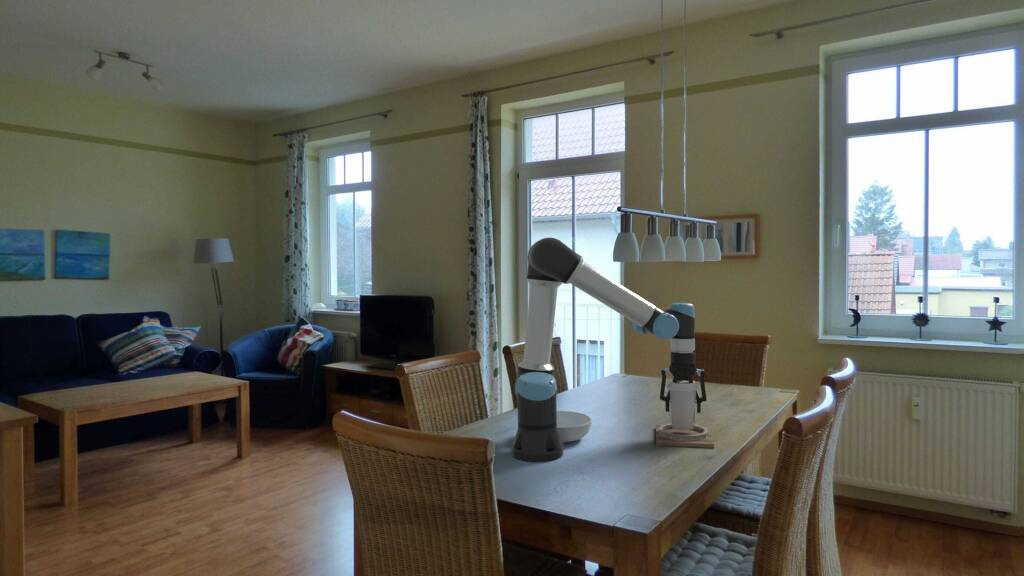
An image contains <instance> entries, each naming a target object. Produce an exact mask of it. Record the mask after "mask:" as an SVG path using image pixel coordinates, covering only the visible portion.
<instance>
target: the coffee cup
mask: <svg viewBox="0 0 1024 576" xmlns="http://www.w3.org/2000/svg"><path fill="white" fill-rule="evenodd" d="M672 380H673V379H671V380H669V381H668V382H669V383H668V384H667V386H666V388H667V389H668V391H670V402H671V409H672V428H673V429H676V430H682V431H688V430H692V429H693V426H694V424H695V423H694V412H695V402H696V390H697V391H698V390H699V387H698V384H697V383H696V381H694V380H693V383H689V381H685V380H681V381H679V380H678V381H677V383H674V382H672Z"/></svg>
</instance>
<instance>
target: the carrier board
mask: <svg viewBox="0 0 1024 576" xmlns="http://www.w3.org/2000/svg"><path fill="white" fill-rule="evenodd" d="M655 436H656V437H655V441H656V443H655V444H656V446H660V447H661V446H665V447H682V448H704V449H705V448H706V449H715V442H714V440H713V436H712V434H711V430H710V429H709V426H702V425H699V424H695V423H694V426H693V429H692V430H688V431H682V430H676V429H673V428H672V423H665V424H655Z"/></svg>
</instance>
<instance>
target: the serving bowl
mask: <svg viewBox="0 0 1024 576" xmlns="http://www.w3.org/2000/svg"><path fill="white" fill-rule="evenodd" d="M591 426H592V418H591V417H590V416H589V415H588V414H585V413H582V412H578V411H569V410H557V430H558V433H559V436H560V439H561V442H566V443H569V442H574V441H579V440H580V439H582V438H584V437H585V436H586V435H588V433H589V431H590V430H591Z"/></svg>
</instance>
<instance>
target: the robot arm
mask: <svg viewBox="0 0 1024 576" xmlns="http://www.w3.org/2000/svg"><path fill="white" fill-rule="evenodd" d="M527 252H528V253H527V271H526V281H527V282H528V283H529V285H530V290H529V300H528V310H527V320H526V330H525V338H524V348H523V349H524V350H523V358H522V361H520V362H519V363H518V364H517V371H516V373H517V374H516V379H515V383H514V394H515V397H516V404H517V409H516V410H517V429H516V433H515V436H514V440H513V444H512V448H511V452H512V453H511V455H512V454H513V455H512V456H513V458H515V457H516V458H515V459H517V458H518V460H520V459H521V461H524V460H525V461H526V462H533V461H539V462H541V461H542V462H548V461H555V460H557V459H560V458H562V457H563V456H564V446H563V443H562V442H561V439H560V436H559V433H558V430H557V411H558V410H557V391H558V390H557V389H558V385H557V380H556V378H555V377H554V375H555V373H554V372H555V367H554V365H552V363H551V358H552V357H551V356H552V349H553V348H552V347H553V337H554V328H555V327H554V326H555V316H556V306H557V297H558V296H557V295H558V288H559V287H560V286H561V285H562V284H564V285H569V284H570V285H572V286H574V287H576V288H577V289H579V290H580V291H582V292H583V293H585V294H587V295H589V296H590V297H591V298H593V299H595V300H596V301H598V302H600V303H601V304H603V305H605V306H607V307H608V308H610V309H611V310H613V311H614V312H616V313H617V314H619V315H622V316H623V317H625V318H626V319H628V320H629V321H631V322H632V329H633V331H634V333H635V334H642V335H644V334H650V335H652V336H655V337H657V338H659V339H660V340H670V350H671V352H670V364H669V367H667V368H661V369H660V373H661V384H660V389H659V390H660V392H659V399H660V400H661V401H663V402H665V403H664V404H665V405H664V406H665V412H666V413H668V421H669V423H672V409H671V402H670V391H669V390H668V391H667V393H666V395H665V391H666V385H667V384H666V382H667V381H666V380H667V376H668V375H669V373H671V375H672V376H673V378H672V379H671V380H672V382H674V383H677V381H678V380H679V381H681V380H685V381H689V383H693V381H694V380H693V376H694V375H695V374H697V376H698V377H699V384H700V393H701V397H700V395H699V393H698V390H696V401H695V412H694V424H695V425H698V414H701V412H702V409H701V407H702V405H701V404H702V403H703V402H706V401H707V393H706V392H707V391H706V385H705V374H706V371H705V370H704V368H702V369H699V368H697V367H696V353H695V352H694V351H695V350H696V339H695V336H696V335H695V333H696V332H695V331H696V330H695V327H696V325H695V324H696V312H695V311H696V310H695V306H694V304H692V303H690V302H672V303H671V304H670V306H669V308H668V309H661V308H659V307H658V306H656V305H655V304H653V303H652V302H650V301H648V300H646V299H645V298H643V297H642V296H640V295H638V294H637V293H635V292H634V291H632V290H630V289H629V288H628V287H625V286H624V285H622V284H620V283H619V282H618V281H617V280H614V279H612V278H611V277H610V276H608V275H606V274H604V273H603V272H601V271H599V270H598V269H596V268H594V267H593V266H591V265H590V264H589V263H587V262H585V261H584V257H583V256H582V255H580V254H579V253H577V252H576V251H574V250H573V249H572V248H570V247H569V246H568V245H567V244H565V243H564V242H563V241H561V240H560V239H557V238H556V237H544V238H541V239H539V240H537V241H535V242H534V243H533V244H532V245H531V246H530V247H529V249H528V251H527ZM669 423H668V424H669ZM539 462H538V463H539Z"/></svg>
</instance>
